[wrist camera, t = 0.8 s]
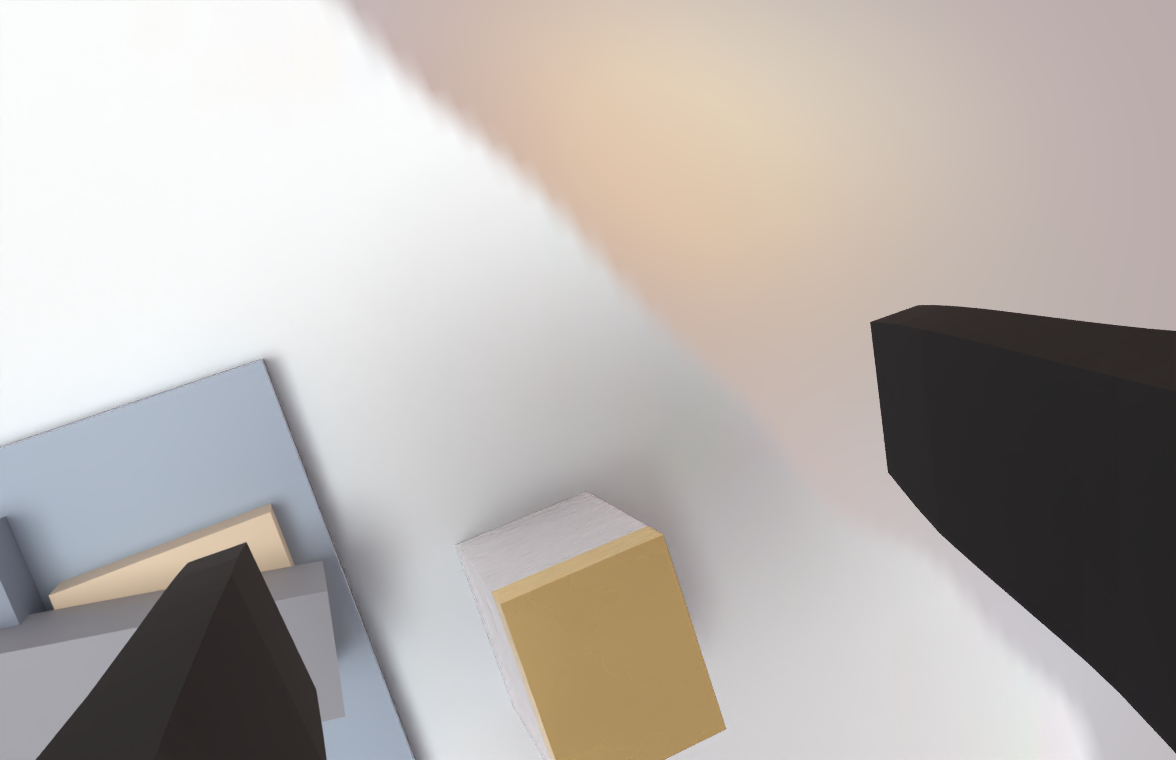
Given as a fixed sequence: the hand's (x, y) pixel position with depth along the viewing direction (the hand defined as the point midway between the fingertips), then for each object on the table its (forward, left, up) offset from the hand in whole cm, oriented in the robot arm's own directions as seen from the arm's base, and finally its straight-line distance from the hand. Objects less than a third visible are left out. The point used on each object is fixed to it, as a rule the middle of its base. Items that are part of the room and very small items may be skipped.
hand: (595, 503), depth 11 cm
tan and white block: (-7, -2, -16) cm, 18 cm away
